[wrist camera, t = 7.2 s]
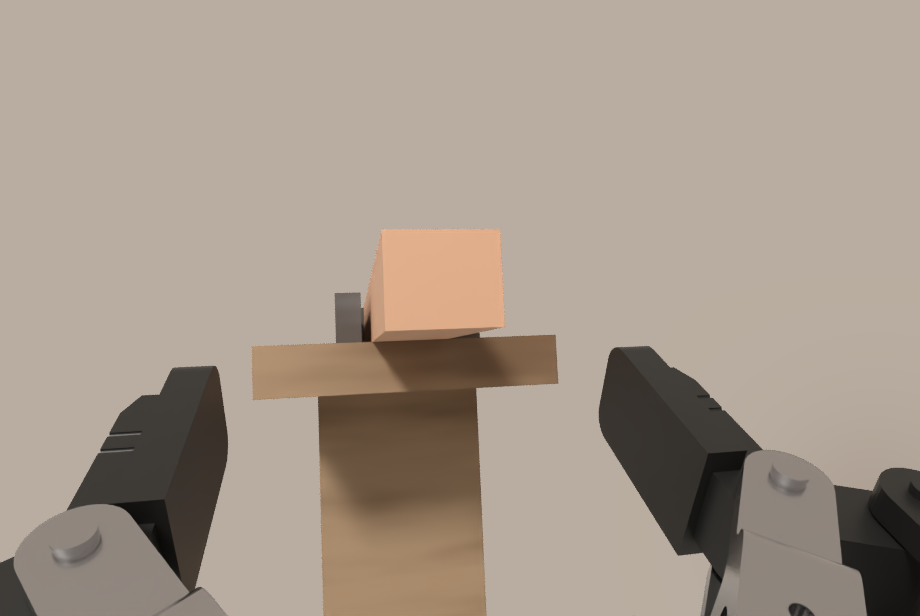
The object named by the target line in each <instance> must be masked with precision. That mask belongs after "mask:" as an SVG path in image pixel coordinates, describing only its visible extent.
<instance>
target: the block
mask: <svg viewBox="0 0 920 616" xmlns="http://www.w3.org/2000/svg"><path fill="white" fill-rule="evenodd" d="M502 327H505V319H504V298H503V278H502V257H501V237H500V229H433V230H432V229H431V230H430V229H422V230H421V229H419V230H417V229H412V230H410V229H407V230H406V229H405V230H382V231H381V235H380V239H379V244H378V248H377V252H376V257H375V261H374V265H373V270H372V274H371V278H370V282H369V287H368V291H367V296H366V300H365V304H364V331H365V342H382V341H408V340H434V339H450V338H455V337H460V336H464V335H469V334H474V333H478V332H483V331H488V330H492V329H497V328H502Z"/></svg>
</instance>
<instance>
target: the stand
mask: <svg viewBox="0 0 920 616" xmlns="http://www.w3.org/2000/svg"><path fill="white" fill-rule="evenodd" d="M335 318H336V343H331V344H304V345H278V346H255V347H254V346H253V347H252V376H253V378H252V379H253V400H261V399H279V398H298V397H316V396H318V407H319V408H318V409H319V410H318V411H319V451H320V491H321V492H320V493H321V533H322V571H323V573H322V574H323V611H324V612H323V615H324V616H486V596H485V574H484V553H483V531H482V507H481V485H480V463H479V441H478V422H477V421H478V419H477V399H476V398H477V397H476V388H483V387H501V386H519V385H538V384H557V383H558V372H557V355H556V336H555V335H539V336H512V337H486V338H480V334H479V332H478V333H474V334H469V335H464V336H460V337H455V338H450V339H434V340H408V341H382V342H365V331H364V308H361V299H360V293H335Z"/></svg>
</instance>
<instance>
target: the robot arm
mask: <svg viewBox="0 0 920 616" xmlns="http://www.w3.org/2000/svg"><path fill="white" fill-rule="evenodd" d="M599 423H600V428H601V431H602V433H603V436H604V438H605V439H606V441H607V443H608V444H609V446H610V447H611V449H612V450H613V452H614V453H615V455H616V457H617V459H618V460H619V462H620V463H621V465H622V467H623V468H624V470H625V471H626V473H627V475H628V476H629V478H630V480H631V481H632V483H633V484H634V486H635V488H636V489H637V491H638V492H639V494H640V496H641V497H642V499H643V500H644V502H645V503H646V505H647V507H648V508H649V510H650V512H651V513H652V515H653V516H654V518H655V520H656V521H657V523H658V524H659V526H660V528H661V529H662V531H663V532H664V534H665V536H666V537H667V539H668V540H669V542H670V543H671V545H672V547H673V548H674V550H675V552H676V553H677V555H687V554H696V553H704V555H705V556H706V558H707V559H708V561H709V562H710V563H711V565H710V568H709V571H708V574H707V579H706V585H705V591H704V598H703V604H702V610H701V616H920V471H917V470H912V469H906V468H890V469H887V470H885V471H883V472H882V473H881V474H880V476H879V478H878V480H877V483H876V485H875V487H874V489H873V491H869V490H863V489H856V488H849V487H843V486H836V485H833V484H832V482H831V481H830V479H829V478H828V477H827V476H826V475H825V474H824V473H823V472H822V471H821V470H820V469H818V468H817V467H816V466H814V465H813V464H811V463H809V462H807V461H806V460H804V459H802V458H799V457H797V456H794V455H791V454H788V453H785V452H780V451H775V450H762V449H761V448H760V447H759V445H758V444H757V443H756V442H755V441H754V440H753V439H752V438H751V437H750V436H749V435H748V434H747V433H746V432H745V431H744V430H743V429H742V428H741V427H740V426H739V425H738V424H737V423H736V422H735V421H734V420H733V418H732V417H731V416H730V415H729V414H728V413H727V412H726V411H722V409H721V406H720V405H719V404H718V403H717V402H716V401H715V400H714V399H713V398H710V395H709V394H708V393H707V392H706V391H705V390H704V389H703V388H702V387H701V386H700V384H699V383H698V382H696V380H694V379H692V378H691V377H689V376H687V375H686V374H684V373H682V372H680V371H679V370H677V369H675V368H674V367H673V368H670V367H669V366H668V365H667V364H666V363H665V362H664V361H663V359H661V357H660V356H659V355H658V354H657V353H656V352H655V351H654V350H653V349H652V348H651V347H649V346H639V347H617V348H614V349H613V350H612V351H611V353H610V355H609V358H608V363H607V369H606V375H605V379H604V385H603V390H602V395H601V400H600V406H599ZM227 454H228V435H227V427H226V420H225V413H224V406H223V398H222V392H221V385H220V378H219V373H218V370H217V367H216V366H201V367H178V368H173V369H172V370H171V372H170V374H169V376H168V378H167V380H166V382H165V384H164V387H163V389H162V391H161V393H160V395H145V396H141V397H140V398H138V399H137V400H136V401H135V402H133V403H132V404H131V405H130V406H129V407H127V408H126V409H125V410H124V411H122V412H121V413H120V415H119V416H118V418H117V420H116V422H115V424H114V426H113V427H112V429H111V431H110V436H109V437H107V438H106V440H105V442H104V444H103V446H102V447H101V452H100V453H99V454H98V455H97V456H96V458H95V460H94V462H93V464H92V465H91V467H90V469H89V471H88V473H87V474H86V476H85V478H84V480H83V482H82V484H81V486H80V487H79V489H78V491H77V493H76V494H75V496H74V498H73V500H72V502H71V504H70V505H69V507H68V509H67V511H65V512H63V513H60V514H58V515H56V516H54V517H52V518H50V519H49V520H47V521H45V522H44V523H42V524H41V525H39V526H38V527H37V528H36V529H34V530H33V531H32V532H31V533H30V534H29V535H28V536H27V537H26V538H25V539H24V540H23V542H22V543H21V544H20V546H19V547H18V549H17V551H16V553H15V557H13V558H10V559H8V560H6V561H4V562H1V563H0V616H227V615H226V613H225V612H224V611H223V609H222V608H221V607H220V606H219V604H218V603H217V602H216V601H215V599H214V598H213V597H212V596H211V595H210V594H209V593H208V592H207V591H206V590H205V589H204V588H202V587H198V588H196V589H195V586H196V581H197V578H198V574H199V570H200V566H201V562H202V558H203V554H204V550H205V546H206V543H207V538H208V534H209V530H210V527H211V522H212V519H213V515H214V511H215V507H216V503H217V499H218V495H219V491H220V487H221V483H222V479H223V475H224V471H225V467H226V462H227Z"/></svg>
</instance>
